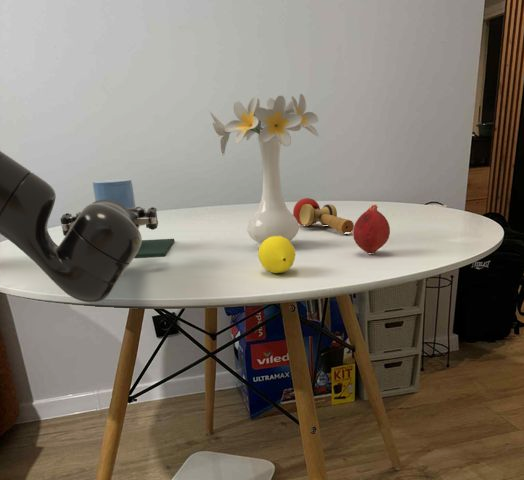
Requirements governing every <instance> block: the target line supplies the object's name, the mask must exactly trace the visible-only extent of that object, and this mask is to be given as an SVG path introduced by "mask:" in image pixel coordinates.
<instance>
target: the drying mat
mask: <svg viewBox="0 0 524 480" xmlns="http://www.w3.org/2000/svg"><path fill="white" fill-rule="evenodd" d="M174 243H175V238H161V239H160V238H157V239H142V244H141V246H140V249H139V251H138V253H137V254H136V256H135V257H134V259H139V258H157V257H160V258H161V257H166V255H167V253H168V252H169V250H170V249H171V247H172V246H173V245H174Z"/></svg>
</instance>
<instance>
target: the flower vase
mask: <svg viewBox="0 0 524 480" xmlns="http://www.w3.org/2000/svg"><path fill="white" fill-rule="evenodd" d="M260 102H261V101H260V99H259V98H258V97H257V96H253V97H252V98H251V100H250V101H249V103H248V105H247V108H246V106H245V105H244V104H243V102H242V101H240V100H235V102H233V107H232V108H233V113H234V115H235V117H236V118H237V119H233V120H230V121H229V122H227V123H226V124H224V123H222V122H221V120H219V119H218V118H217V117H216V115H214V113H212V111H211V110H209V114H210V116H211V118H212V120H213V122H212V126H213V129H214V131H215V133H216V135H217V136H218V138H220V141H219V142H220V143H219V144H220V150H221V151H220V152H221V154H222V156H223V157H225V154H226V153H225V152H226V148H227V144H228V141H229V139H230V135H231V133H235V132H236V134H235V136H234V143H235V144H240V143H241V142H242V140H243V139H244V138H245V139H246V141H249V140H250V139H251V138H252V137H253V136H254V135H255V134H257V135H256V140H257V141H258V145H259V149H260V155H261V164H262V169H261V170H262V189H261V190H262V191H261V199H260V203H259V205H258V208H257V210H256V212H255V213H254V214H253V215H252V216H251V218H250V219H249V221H248V224H247V233H248V235H249V237H250V238H251V239H252V240H253V241H254V242H257V243H256V247H257V248H258V249H259V248H260V246H261V244H262V243H263V241H264V240H266V239H267V238H269V237H272V236H282V237H284V238H286V239H288V240H289V241H290V242H291V241H292V240H293V239H294V238H295V237H296V236H297V235H298V232H299V231H300V224H298V222H297V220H296V218H295V217H294V215H293V212H291V211H290V210H289V209H288V206H287V205H286V202H285V200H284V197H283V192H282V187H281V186H282V185H281V184H282V183H281V169H280V152H281V145H282V146H284V147H289V146H291V144H292V136H291V134H290V132H298V131H300V130H301V129H302V128H304V129H305V130H307V131H309V132H310V133H311V134H313V136H315V137H317V138H318V137H319V132H318V130H317V129H316V127H314V125H312V124H316V123H318V122H319V117H318V115H317V114H316V113H314V112H312V111H306V110H307V102H306V98H305V96H304V94H302V93H299V97H298V101H297V99H296V98H295V97H294V96H293V95H292V96H291V100H289V101H286V98H285V97H284V96H283V95H281V94H280V95H278V96H277V97H276V99H274V98H272V97H269V98H267V100H266V107H267V108H266V107H261V106H260V104H261V103H260ZM289 131H290V132H289Z"/></svg>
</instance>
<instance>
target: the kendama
mask: <svg viewBox="0 0 524 480" xmlns="http://www.w3.org/2000/svg"><path fill="white" fill-rule="evenodd" d="M337 211H338V210H337V207H336V206H335V205H333V204H331V203H330V204H329V203H327V204H324V205H323V206H322V208H321V206H320V204H319V203H318V202H317V201H316V200H315V199H313V198H310V197H304V198H301V199H299V200H298V201H297V202H296V203H295V205H294V206H293V211H292V214H293V215H294V217H295V218H296V220H297V222H298V225H299V226H302V225H305V226H306V227H310V226H309V225H311V226H313V225H315V224H317V223H320V224H321V225H322V226H323V225H328V226H330V227H329V228H332V229H333V230H335V231H337V232H339V233H341V234H342V233H345V232H351V231H352V232H353V229H354V226H355V223H354V222H353V220H351V219H346V218H344V217H343V218H342V217H339V216H338V212H337ZM312 224H313V225H312ZM352 232H351V233H352Z"/></svg>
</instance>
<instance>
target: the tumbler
mask: <svg viewBox="0 0 524 480" xmlns="http://www.w3.org/2000/svg"><path fill="white" fill-rule="evenodd" d="M133 187H134V186H133V182H132V179H130V178H120V179H118V178H117V179H105V180H103V179H102V180H96V181H95V180H94V181H92V188H93V193H94V202H95V201H98V200H102V199H111V200H115V201H118V202H120V203H121V204H123V205H124V206H125V207H127V208H129V207H133V208H136V201H135V194H134V193H135V192H134V188H133ZM139 229H140V228H139ZM139 229H138V230H139ZM139 231H140V230H139Z"/></svg>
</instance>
